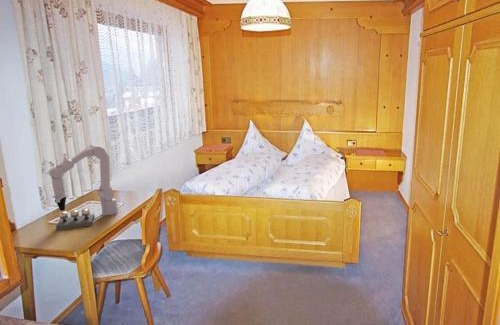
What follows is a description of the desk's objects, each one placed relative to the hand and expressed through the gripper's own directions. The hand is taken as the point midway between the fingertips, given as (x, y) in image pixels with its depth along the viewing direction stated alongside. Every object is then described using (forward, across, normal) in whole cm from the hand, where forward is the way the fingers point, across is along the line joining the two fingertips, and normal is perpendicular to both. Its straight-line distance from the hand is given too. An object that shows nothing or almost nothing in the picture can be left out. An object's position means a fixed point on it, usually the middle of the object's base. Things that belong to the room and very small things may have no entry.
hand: (62, 210), depth 218 cm
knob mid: (+7, 0, +6) cm, 9 cm away
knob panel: (+9, 0, +6) cm, 11 cm away
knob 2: (+7, 0, +12) cm, 14 cm away
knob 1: (+7, 0, 0) cm, 7 cm away
